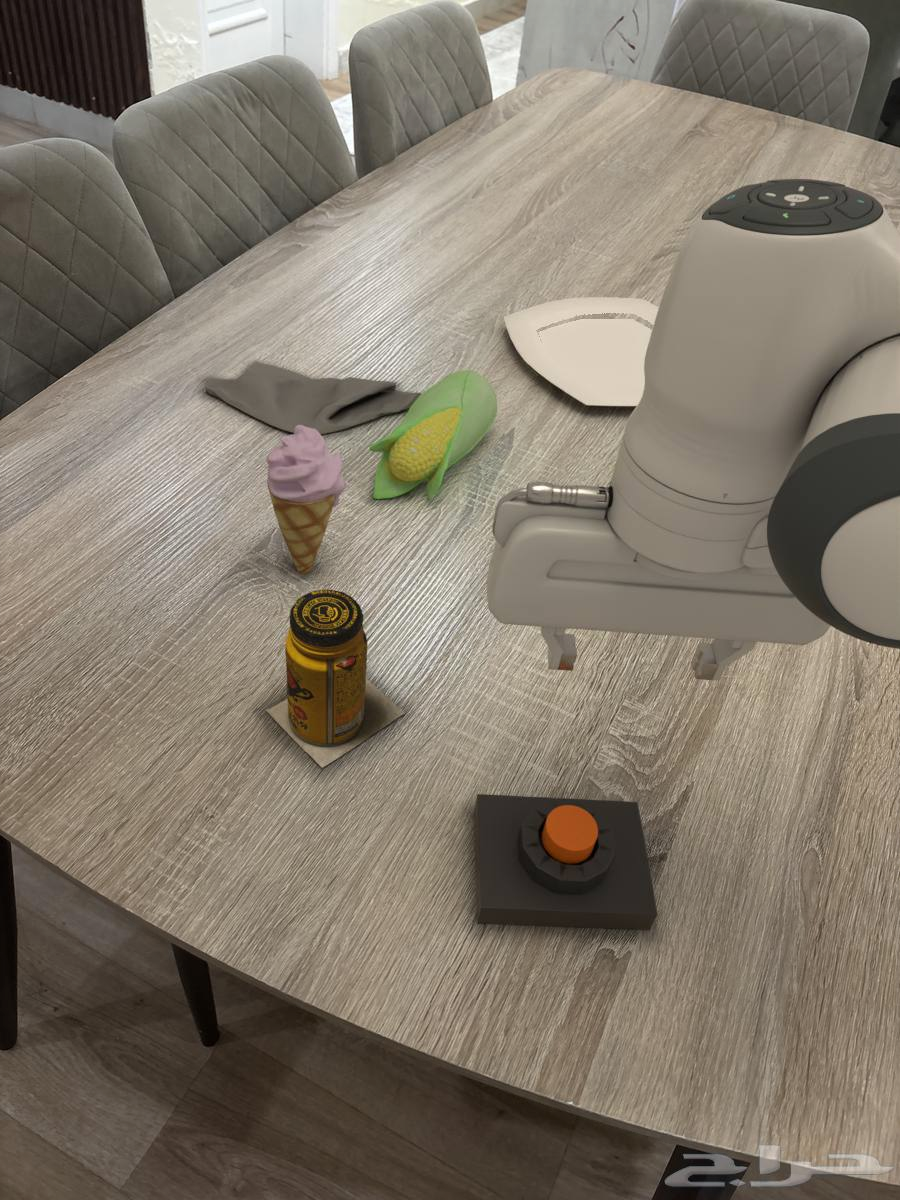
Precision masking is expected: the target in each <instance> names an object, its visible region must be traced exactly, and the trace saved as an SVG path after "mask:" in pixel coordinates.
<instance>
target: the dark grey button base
mask: <svg viewBox="0 0 900 1200" xmlns="http://www.w3.org/2000/svg"><path fill="white" fill-rule="evenodd" d="M475 800H476V801H475V803H474V808H473V817H474V819H473V821H474V823H473V824H474V852H475V853H474V854H475V858H474V859H475V886H476V887H475V889H476V890H475V891H476V918H477V919H476V921H477V923H476V924H487V925H488V924H489V925H511V926H513V925H514V926H537V927H561V928H563V927H565V928H584V929H585V928H587V929H589V928H590V929H591V928H592V929H613V930H636V931H638V930H639V931H650V930H651V929H652V927H653V925H654V923H655V921H656V919H657V917H658V909H657V903H656V897H655V893H654V887H653V880H652V875H651V870H650V864H649V858H648V854H647V847H646V840H645V837H644V836H645V835H644V831H643V825H642V819H641V813H640V807H639V802H638V801H627V800H626V801H625V800H608V799H607V800H606V799H604V800H603V799H586V798H568V797H567V798H566V797H545V796H529V795H528V796H527V795H526V796H525V795H505V794H488V793H487V794H486V793H477V794H476V799H475ZM563 805H573V806H577V807H580V808H582V809H584V810H586V811H587V812H588V813H589V814H590V815H591V816H592V817H593V818H594V820H595V822H596V824H597V827H598V836H597V839H596V842H595V845H594V847H593V850H592V852H591V854H590V856H589V857H588V858H587V859H586V860H584V861H582V862H580V863H576V864H567V863H562V862H560V861H558V860H556V859H554V858H553V857H551V856H550V855H549V854H548V852H547V851H546V850H545V848H544V846H543V843H542V833H543V829H544V826H545V823H546V819H547V817H548V815H549V813H550V812H551V811H552V810H554V809H555V808H557V807H559V806H563Z"/></svg>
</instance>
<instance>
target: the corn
mask: <svg viewBox="0 0 900 1200" xmlns="http://www.w3.org/2000/svg"><path fill="white" fill-rule="evenodd" d="M497 399H498V398H497V394H496V391H495V389H494V387H493V385H492V384H491V382H490V381H489V379H488V378H486V377H485V376H483V374H480V373H479V372H476V371H474V370H471V369H469V370H466V369H464V370H457V371H454V372H452V373H450V374H447V375H446V376H445V377H443V378H442V379H440V380H439V381H438V382H437V383H435V384H434V385H432V386H431V387H429V388H427V389H426V390H425V391H424V392H422V393H421V395H420V396H419V398H418V399H417V400H416V401H415V402H414V403H413V405H412V406H411V407H410V408H408V411H407V412H406V414H405V416H404V418H403V419H402V421H401V422H400V423H399V424H397V426H396V427H395V428H394V429H393V430H392V431H391V433H390V434H389V435H387V436H386V437H384V438H382V439H379V440H378V441H375V443H373V444H371V445H370V446H369V451H371V452H373V453H382V454H381V458H380V460H379V462H378V464H377V466H376V470H375V475H374V487H373V494H372V497H373V499H374V500H384V499H393V498H397V497H400V496H402V495H405V494H406V493H408V492H410V491H412V490H413V489H415V488H416V487H417V486H419V484H421V483H423V482H425V481H427V484H426V492H427V495H428V500H432V499H433V498H434V497H435V496H436V494H437V493H438V491H439V489H440V487H441V486H442V482H443V479H444V475H445V473H446V471H447V470H448V469H449V468H451V466H453V465H454V464H456V463H457V462H459V461H461V459H463V458H464V457H465V456H466V455H468V454H469V453H470V452H472V451H473V450H474V449H475V447H476V446H477V445H478V444H479V443H480V441H482V439H483V438H484V437H485V435H486V434H487V433H488V432H489V430H490V429H491V428H492V427H493V425H494V423H495V420H496V418H497V416H498V400H497Z"/></svg>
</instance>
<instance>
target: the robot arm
mask: <svg viewBox="0 0 900 1200" xmlns="http://www.w3.org/2000/svg"><path fill="white" fill-rule="evenodd" d="M658 307H659V309H658V312H657V316H656V319H655V322H654V326H653V329H652V332H651V336H650V339H649V343H648V346H647V350H646V355H645V360H644V376H645V385H644V391H643V395H642V398H641V400H640V402H639V403H638V405H637V407H634V409H633V411H632V412H631V413H630V416H629V417H628V420H627V422H626V425H625V428H624V432H623V436H622V439H621V442H620V445H619V449H618V454H617V457H616V461H615V463H614V464H615V465H614V468H613V472H612V476H611V479H610V483H609V486H598V485H597V486H596V485H584V484H576V485H574V484H573V485H572V484H571V485H563V484H561V485H560V484H553V483H552V482H548V481H532V482H528V483H527V484H526V487H522V488H516V489H514V490H511V491H509V492H508V493H506V494H504V495H503V496H501V498H500V499H499V500H498V502H497V504H496V506H495V510H494V511H495V512H494V516H493V521H492V534H493V537H494V539H495V540H496V542H495V544H494V548H493V550H492V554H491V556H490V561H489V564H488V569H487V575H486V601H487V608H488V611H489V612H490V613H491V615H492V616H493V617H494V618H495V619H496V621H497V622H499V623H500V624H504V625H514V626H527V627H528V626H529V627H540V634H541V636H542V638H543V640H544V641H545V644H546V645H547V647H548V648H547V664H548V665H547V666H548V670H552V671H571V672H572V671H573V670H574V667H575V666H574V664H575V663H576V661H577V657H578V652H577V651H578V650H577V646H576V637H575V634H574V633H566V630H567V629H568V630H569V629H572V630H584V631H599V632H614V633H624V634H625V633H626V634H627V633H628V634H640V635H641V634H643V635H656V636H669V637H683V638H700V639H710V640H711V639H712V640H713V639H714V640H713V641H711V642H710V643H707V642H706V643H705V642H704V643H702V642H699V643H697V645H696V648H695V653H693V655H692V659H691V668H692V670H693V672H694V673H693V675H694V679H696V680H703V681H715V682H718V681H720V680H721V678H722V676H723V674H724V672H725V670H726V668H727V666H730V665H731V664H733V663H734V662H736V661H737V660H739V659H741V658H743V657H744V656H746V655H747V654H749V653H750V652H752V651H753V650H754V648H755V646H756V644H757V643H768V644H784V645H796V646H805V645H808V644H811V643H812V642H814V641H816V640H818V639H821V637H823V636H825V635H826V633H827V632H828V631H829V629H830V628H831V627H832V628H833V629H836V630H837V631H839V632H841V633H843V634H845V635H848V636H850V637H852V638H855V639H857V640H860V641H863V642H866V643H868V644H869V643H870V644H873V645H876V646H880V647H885V648H890V649H898V650H900V232H899V230H898V229H897V228H896V226H895V224H894V223H893V221H892V219H891V216H890V215H889V213H888V211H887V210H886V207H885V206H884V205H883V204H882V203H881V202H880V201H879V200H878V199H877V198H876V197H874V196H872V195H870V194H868V193H867V192H863V191H861V190H858V189H856V188H852V187H850V186H846V185H845V183H838V182H833V181H829V180H821V179H810V178H786V179H785V178H784V179H783V178H781V179H780V178H779V179H771V180H770V179H769V180H766V181H764V182H757V183H752V184H747V185H744V186H741V187H737V189H734V190H732V191H730V192H728V193H726V194H725V195H723V196H722V197H720V198H719V199H718V200H716V201H715V202H713V203H712V204H711V205H710V206H709V207H707V209H705V210H704V211H703V212H702V213H701V214H700V215H699V217H698V218H697V219H696V220H695V222H694V223H693V224H692V226H691V228H690V230H689V231H688V233H687V235H686V237H685V240H684V241H683V244H682V246H681V248H680V250H679V252H678V254H677V257H676V259H675V262H674V263H673V267H672V269H671V272H670V275H669V277H668V280H667V282H666V285H665V288H664V291H663V293H662V297H661V301H660V303H659V306H658Z"/></svg>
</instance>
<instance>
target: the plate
mask: <svg viewBox="0 0 900 1200" xmlns="http://www.w3.org/2000/svg"><path fill="white" fill-rule="evenodd" d="M658 309H659V306H657V305H656V304H653V303H651V302H649V301H648V300H645V299H643V298H638V297H637V298H635V297H634V298H633V297H613V296H612V297H610V296H608V297H607V296H593V297H591V296H589V297H587V296H585V297H584V296H583V297H573V298H572V297H571V298H570V297H569V298H563V299H557V300H556V299H555V300H552V301H551V300H550V301H547V302H544V303H539V304H537V305H533V306H530V307H527V308H524V309H522V310H518V311H516V312H513V313H510V314H507V315H505V316H503V321H504V324H505V328H506V330H507V333H508V335H509V338H510V341H511V343H512V344H513V346H514V348H515V350H516V352H517V353H518V354H519V356H520V357H521V359H522V360H523V361H524V363H525V364H526V365H527V366H528V367H530V368H531V370H533V371H534V372H535V373H537V375H539V376H540V377H541V378H543V379H544V380H546V381H547V382H548V383H550V384H551V385H552V386H554V387H555V388H557V389H558V390H560V391H561V392H563V393H564V394H565V395H567V396H569V397H570V398H572V399H574V400H575V401H576V402H579V403H580V404H581V405H583V406H585V407H592V408H593V407H594V408H595V407H599V408H636V407H637V405H638V403H639V402H640V400H641V398H642V395H643V391H644V385H645V376H644V360H645V355H646V350H647V346H648V343H649V339H650V336H651V332H652V330H651V329H650V328H648V327H646V326H644V325H643V324H641V323H639V322H637V321H635V320H634V319H580V320H576V321H572V322H568V323H564V324H561V325H558V326H555V327H551V328H548V329H546V330H543V331H540V332H538V333H539V335H538V333H537V331H536V330H538V329H539V328H541V327H545V326H548V325H550V324H552V323H557V322H559V321H562V320H563V319H564V320H566V319H569V318H573V317H575V316H576V315H577V316H579V315H584V314H585V315H588V314H590V315H592V314H602V313H603V314H604V313H605V314H606V313H612V314H613V313H616V314H617V313H620V314H621V313H624V314H626V313H627V314H630V313H631V314H635V315H637V316H638V317H641V318H643V319H644V320H648V322H650V323H651V324H652V325H654V322H655V319H656V316H657V312H658ZM539 336H540V337H539ZM540 339H541V340H540ZM541 341H542V342H541Z"/></svg>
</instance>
